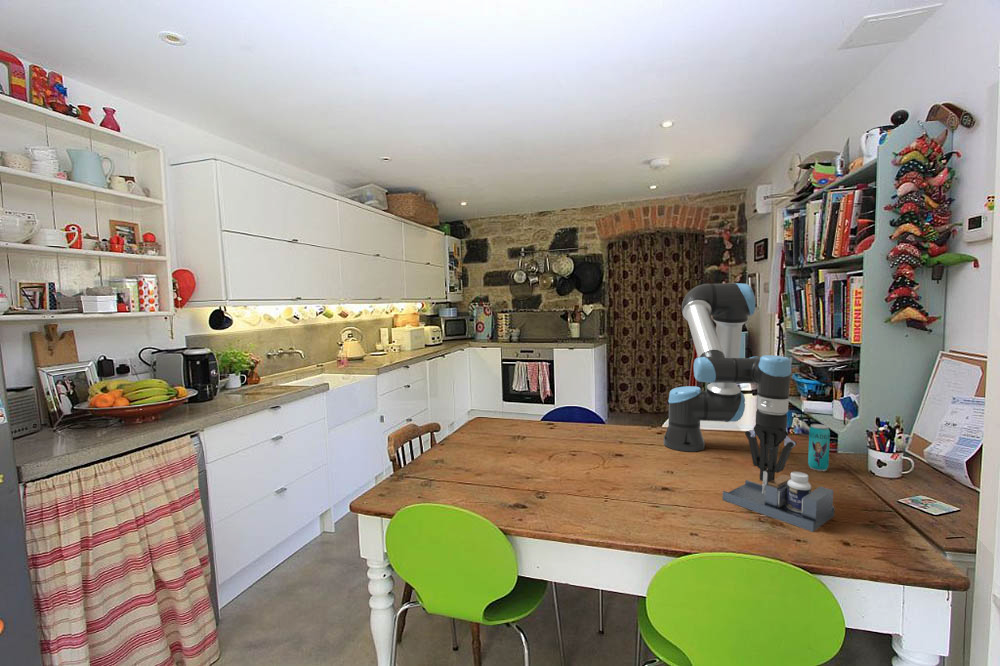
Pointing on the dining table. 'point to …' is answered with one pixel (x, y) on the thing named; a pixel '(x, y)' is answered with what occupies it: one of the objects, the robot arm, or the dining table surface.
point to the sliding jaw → (777, 492)
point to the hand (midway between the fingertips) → (766, 493)
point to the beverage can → (818, 447)
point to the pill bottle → (797, 490)
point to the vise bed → (813, 505)
